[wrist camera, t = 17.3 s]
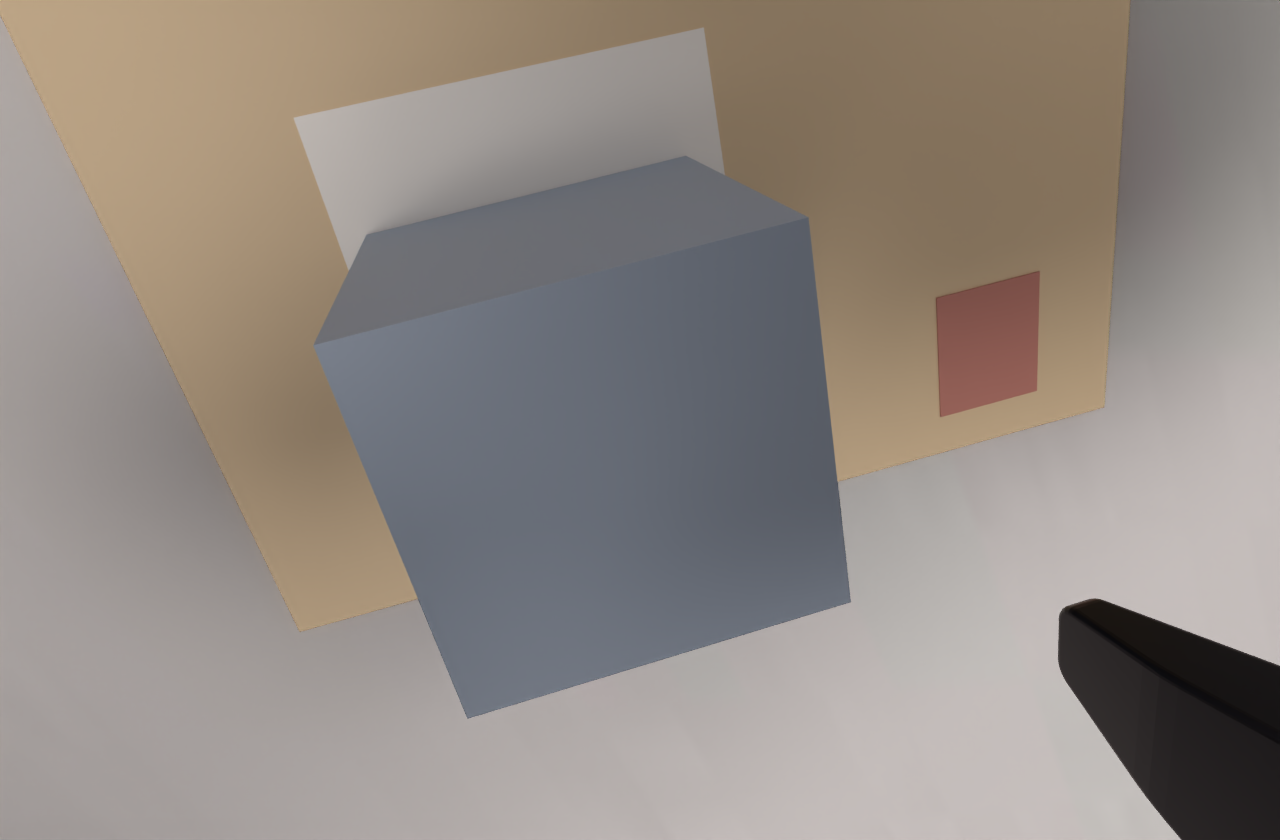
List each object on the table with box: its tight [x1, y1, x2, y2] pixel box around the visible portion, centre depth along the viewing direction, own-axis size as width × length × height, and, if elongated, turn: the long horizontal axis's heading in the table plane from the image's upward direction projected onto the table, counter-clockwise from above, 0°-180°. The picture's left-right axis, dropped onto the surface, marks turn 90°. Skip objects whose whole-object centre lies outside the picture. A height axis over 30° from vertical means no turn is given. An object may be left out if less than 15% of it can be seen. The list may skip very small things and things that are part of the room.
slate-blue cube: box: [313, 156, 851, 718], centre depth 11 cm, size 5×5×5 cm
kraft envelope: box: [0, 0, 1130, 632], centre depth 13 cm, size 16×11×1 cm
